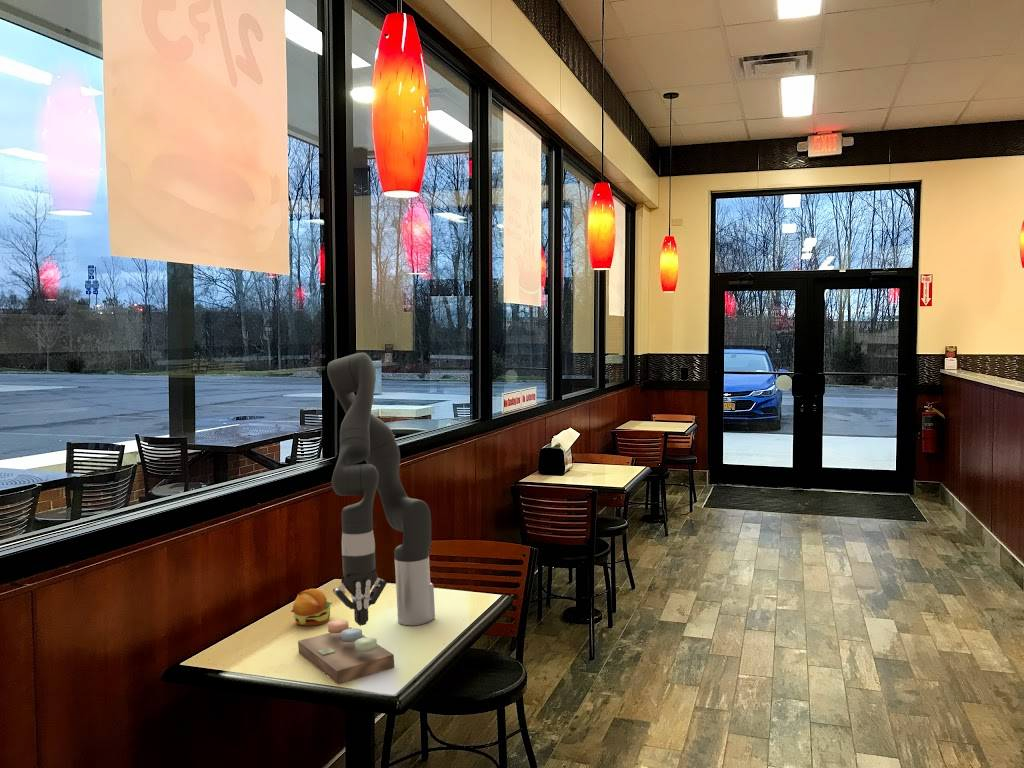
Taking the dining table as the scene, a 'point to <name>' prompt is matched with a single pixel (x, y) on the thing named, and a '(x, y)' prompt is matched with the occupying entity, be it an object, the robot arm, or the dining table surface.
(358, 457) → the robot arm
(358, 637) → the button slate
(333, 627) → the button terracotta
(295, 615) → the cheeseburger
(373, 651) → the console
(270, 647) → the dining table surface
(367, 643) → the button sage
